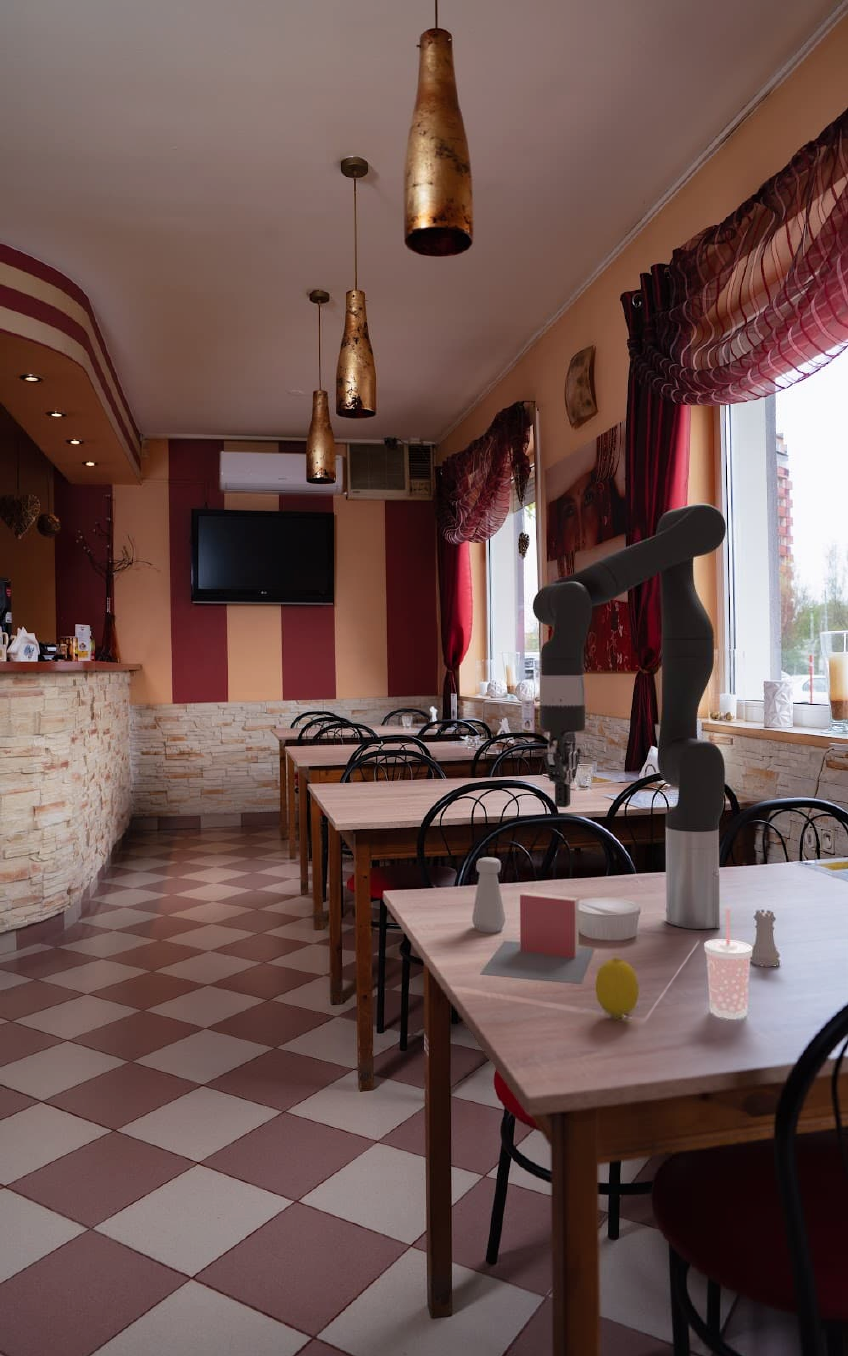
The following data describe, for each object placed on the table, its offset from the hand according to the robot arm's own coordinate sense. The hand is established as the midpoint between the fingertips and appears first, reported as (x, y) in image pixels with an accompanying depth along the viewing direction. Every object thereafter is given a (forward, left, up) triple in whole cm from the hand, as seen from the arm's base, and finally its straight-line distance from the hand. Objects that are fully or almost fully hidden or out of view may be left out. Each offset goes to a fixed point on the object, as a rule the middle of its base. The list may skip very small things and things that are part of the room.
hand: (562, 806), depth 149 cm
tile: (+1, +7, -22) cm, 24 cm away
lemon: (-12, +30, -23) cm, 40 cm away
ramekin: (-7, -7, -23) cm, 25 cm away
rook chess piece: (-32, +1, -23) cm, 39 cm away
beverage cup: (-26, +24, -23) cm, 42 cm away
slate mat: (+2, +11, -23) cm, 26 cm away
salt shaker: (+13, -3, -23) cm, 27 cm away
